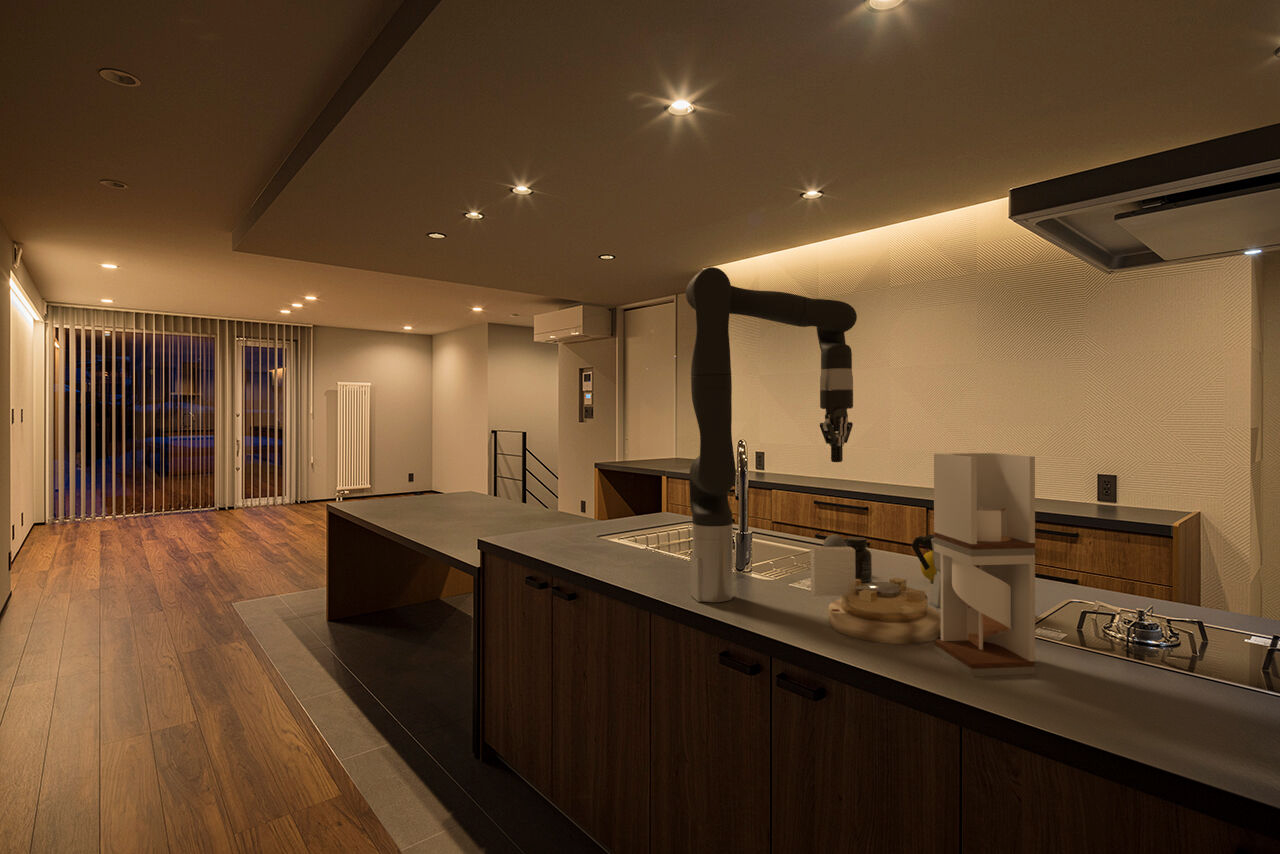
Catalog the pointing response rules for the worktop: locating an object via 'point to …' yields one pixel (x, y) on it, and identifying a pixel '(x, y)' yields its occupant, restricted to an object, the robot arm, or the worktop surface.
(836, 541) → the light bulb
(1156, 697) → the worktop surface
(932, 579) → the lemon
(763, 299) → the robot arm
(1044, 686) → the worktop surface
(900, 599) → the gold stand with panel
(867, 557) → the supplement bottle
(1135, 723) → the worktop surface
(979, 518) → the white tower model
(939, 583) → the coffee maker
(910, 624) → the cap plate
